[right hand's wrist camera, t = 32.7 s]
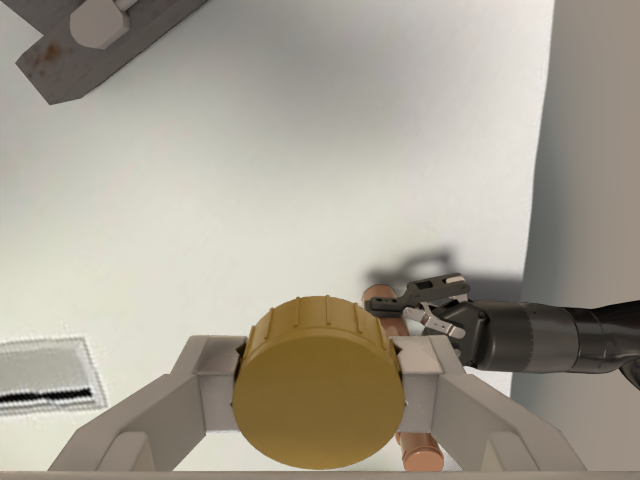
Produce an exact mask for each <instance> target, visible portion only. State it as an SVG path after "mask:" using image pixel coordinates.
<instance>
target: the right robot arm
mask: <svg viewBox="0 0 640 480" xmlns="http://www.w3.org/2000/svg"><path fill="white" fill-rule="evenodd" d="M389 339H392V343H393V346H394V349H395V352H396V355H397V360H398V364H399V367H400V373H399V375H400V379H401V382H402V385H403V390H404V394H405V408H404V414H403V417H402V421H401V423H400V425H399V428H398V430H397V432H409V433H431V435H432V437H433V438H434V439H435V440H436V441H437V442H438V443H439V444H440V445H441V446H442V447H443V448H444V449H445V450H446V451H447V453H448V454H449V455H450V456H451V457H452V458H453V459H454V460H455V461H456V462H457V463H458V464H459V465H460V466H461V468H462V469H463V470H464V471H172V470H173V469H174V468H175V467H176V466H177V465H178V464H179V463H180V462H181V461H182V460H183V459H184V458H185V457H186V456H187V455H188V454H189V452H190V451H191V450H192V449H193V448H194V447H195V446H196V445H197V444H198V443H199V442H200V441H201V440H202V439H203V438H204V437H205V436H206V433H227V432H240V429H239V428H238V425H237V423H236V421H235V417H234V413H233V407H232V397H233V391H234V387H235V383H236V379H237V376H238V372H239V369H240V365H241V364H240V359H241V358H242V357H243V354H244V351H245V347H246V344H247V340H248V338H247V336H222V335H211V336H210V335H192V336H191V337H190V338H189V339H188V341H187V343H186V345H185V346H184V348H183V350H182V352H181V354H180V356H179V358H178V360H177V362H176V363H175V365H174V367H173V369H172V371H171V373H170V374H164V375H162V376H161V377H159V378H158V379H156V380H154V381H153V382H151V383H150V384H148V385H146V386H145V387H143V388H142V389H140V390H139V391H137V392H135V393H134V394H132V395H131V396H129V397H128V398H126V399H124V400H123V401H121V402H120V403H118V404H117V405H115V406H113V407H112V408H110V409H109V410H107V411H106V412H104V413H102V414H101V415H99V416H98V417H96V418H94V419H93V420H91V421H90V422H88V423H87V424H85V425H83V426H82V427H80V428H79V429H77V430H76V431H75V433H74V434H73V436H72V437H71V438H70V440H69V441H68V443H67V444H66V445H65V447H64V448H63V450H62V451H61V452H60V454H59V455H58V456H57V458H56V459H55V461H54V462H53V463H52V465H51V466H50V468H49V469H48V470H47V471H0V480H640V471H588V470H587V468H586V467H585V466H584V464H583V463H582V461H581V460H580V458H579V457H578V456H577V454H576V453H575V451H574V450H573V448H572V447H571V446H570V444H569V443H568V441H567V440H566V438H565V437H564V436H563V434H562V433H561V431H560V430H558V429H557V428H555V427H554V426H552V425H551V424H549V423H547V422H546V421H544V420H543V419H541V418H540V417H538V416H537V415H535V414H534V413H532V412H530V411H529V410H527V409H526V408H524V407H523V406H521V405H519V404H518V403H516V402H515V401H513V400H512V399H510V398H509V397H507V396H506V395H504V394H502V393H501V392H499V391H498V390H496V389H495V388H493V387H491V386H490V385H488V384H487V383H485V382H484V381H482V380H481V379H479V378H477V377H476V376H474V375H473V374H466V372H465V370H464V368H463V366H462V364H461V362H460V360H459V358H458V356H457V354H456V353H455V351H454V349H453V347H452V345H451V343H450V341H449V339H448V337H447V336H445V335H428V336H390V338H389Z"/></svg>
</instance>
